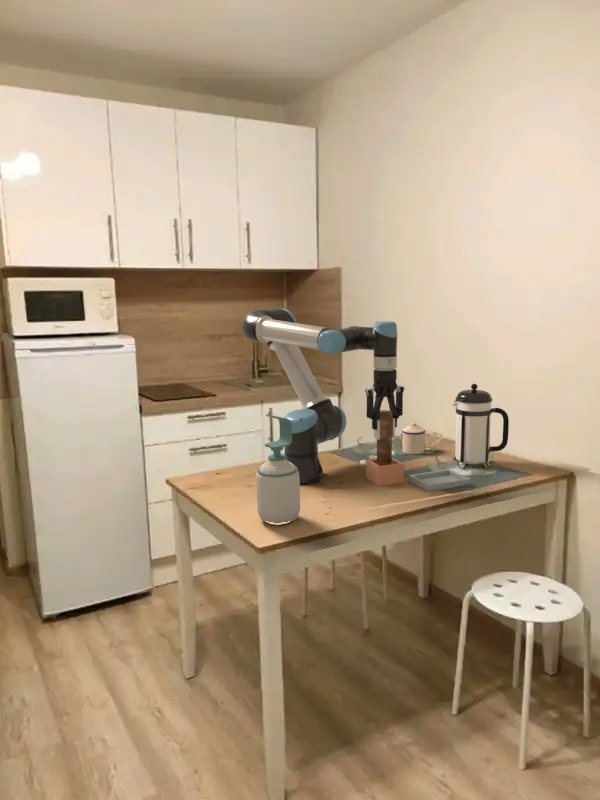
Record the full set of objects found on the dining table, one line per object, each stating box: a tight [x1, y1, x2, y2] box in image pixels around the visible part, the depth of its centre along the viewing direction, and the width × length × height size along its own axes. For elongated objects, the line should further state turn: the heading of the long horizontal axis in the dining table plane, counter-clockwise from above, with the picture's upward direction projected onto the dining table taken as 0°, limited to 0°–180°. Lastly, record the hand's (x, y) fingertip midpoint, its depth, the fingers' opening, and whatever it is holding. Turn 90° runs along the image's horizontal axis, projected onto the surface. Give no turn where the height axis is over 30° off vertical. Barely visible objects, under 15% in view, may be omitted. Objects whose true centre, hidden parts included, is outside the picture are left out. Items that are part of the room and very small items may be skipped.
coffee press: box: [451, 383, 510, 466], centre depth 222 cm, size 17×16×30 cm
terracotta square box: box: [365, 457, 405, 487], centre depth 207 cm, size 9×9×7 cm
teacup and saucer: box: [359, 455, 377, 466], centre depth 225 cm, size 9×8×4 cm
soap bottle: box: [255, 413, 301, 523], centre depth 173 cm, size 12×12×31 cm
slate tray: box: [408, 468, 471, 493], centre depth 203 cm, size 16×12×2 cm
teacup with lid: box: [400, 422, 426, 455], centre depth 243 cm, size 12×9×12 cm
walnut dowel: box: [376, 409, 393, 463], centre depth 204 cm, size 5×5×17 cm
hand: (384, 437), depth 204 cm, fingers closed on walnut dowel, 5 cm apart
